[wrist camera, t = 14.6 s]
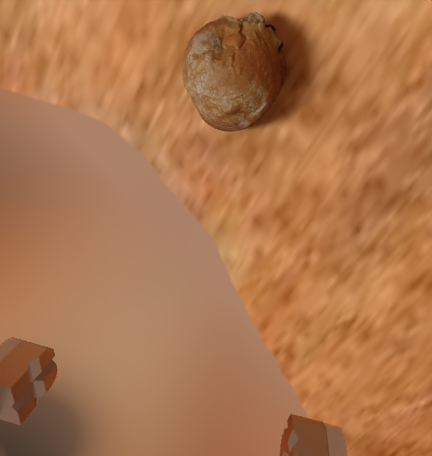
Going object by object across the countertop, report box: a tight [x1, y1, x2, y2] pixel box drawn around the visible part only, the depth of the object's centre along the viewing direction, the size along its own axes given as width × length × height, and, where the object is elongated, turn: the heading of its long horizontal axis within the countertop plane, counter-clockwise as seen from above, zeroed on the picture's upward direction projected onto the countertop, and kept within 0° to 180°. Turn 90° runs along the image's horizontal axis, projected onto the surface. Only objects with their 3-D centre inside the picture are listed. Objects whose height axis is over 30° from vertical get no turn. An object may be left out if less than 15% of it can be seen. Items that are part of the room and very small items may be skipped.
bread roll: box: [183, 12, 286, 131], centre depth 29 cm, size 10×10×8 cm
